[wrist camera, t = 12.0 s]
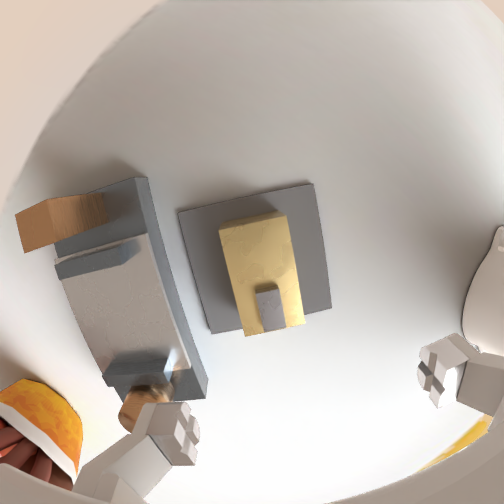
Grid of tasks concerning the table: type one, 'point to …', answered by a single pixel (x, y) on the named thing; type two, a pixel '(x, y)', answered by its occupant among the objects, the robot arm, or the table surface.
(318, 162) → the table surface
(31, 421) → the fried chicken
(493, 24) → the table surface
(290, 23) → the table surface
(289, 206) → the mat
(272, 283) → the tan rectangular block
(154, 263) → the hand plane
